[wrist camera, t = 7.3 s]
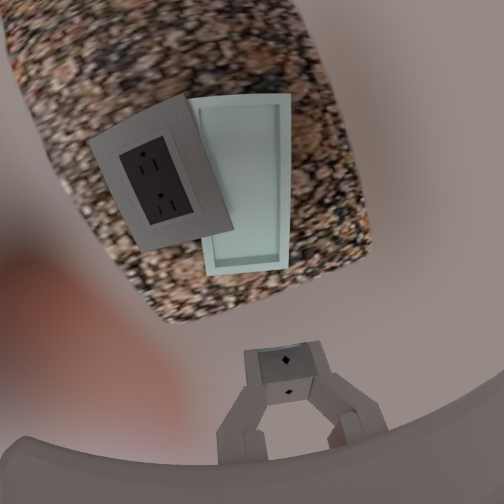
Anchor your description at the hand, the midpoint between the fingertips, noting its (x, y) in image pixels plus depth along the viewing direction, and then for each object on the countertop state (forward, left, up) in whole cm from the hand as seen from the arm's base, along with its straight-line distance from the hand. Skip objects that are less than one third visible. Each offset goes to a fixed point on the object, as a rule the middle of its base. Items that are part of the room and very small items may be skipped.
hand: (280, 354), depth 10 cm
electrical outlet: (-1, -12, -20) cm, 24 cm away
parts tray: (0, 0, -20) cm, 20 cm away
